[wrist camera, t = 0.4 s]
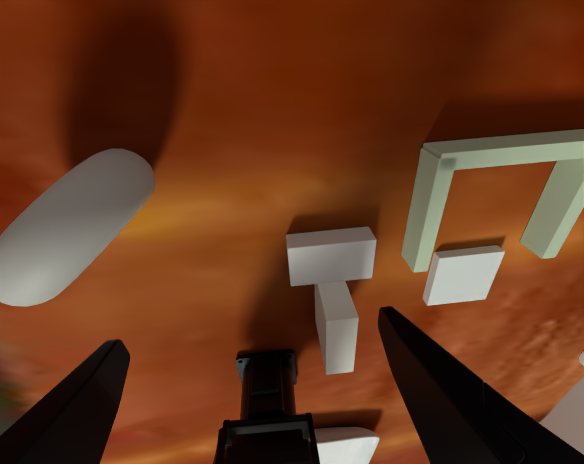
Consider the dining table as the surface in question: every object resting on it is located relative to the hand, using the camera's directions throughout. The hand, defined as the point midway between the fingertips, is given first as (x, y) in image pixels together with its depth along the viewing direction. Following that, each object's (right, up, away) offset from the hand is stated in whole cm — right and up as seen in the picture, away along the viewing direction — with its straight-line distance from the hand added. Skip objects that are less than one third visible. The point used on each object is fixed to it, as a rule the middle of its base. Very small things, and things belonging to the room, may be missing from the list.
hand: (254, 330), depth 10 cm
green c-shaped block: (+17, +6, +13) cm, 23 cm away
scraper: (+5, -1, +17) cm, 17 cm away
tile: (+18, 0, +18) cm, 25 cm away
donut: (-11, +7, +10) cm, 17 cm away
